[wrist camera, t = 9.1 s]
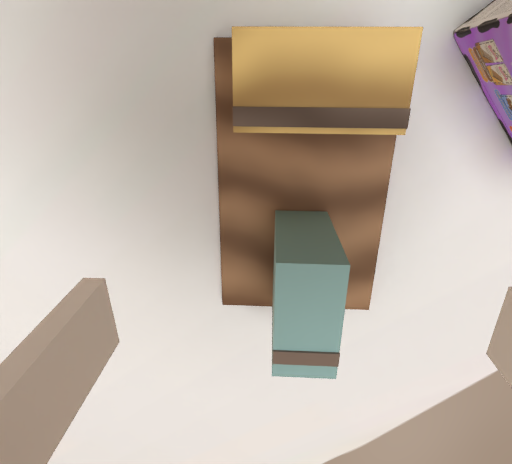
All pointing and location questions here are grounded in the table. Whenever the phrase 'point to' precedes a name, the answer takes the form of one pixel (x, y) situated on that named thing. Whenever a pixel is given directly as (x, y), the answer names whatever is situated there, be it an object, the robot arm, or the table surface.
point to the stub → (307, 295)
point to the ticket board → (307, 142)
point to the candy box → (491, 55)
